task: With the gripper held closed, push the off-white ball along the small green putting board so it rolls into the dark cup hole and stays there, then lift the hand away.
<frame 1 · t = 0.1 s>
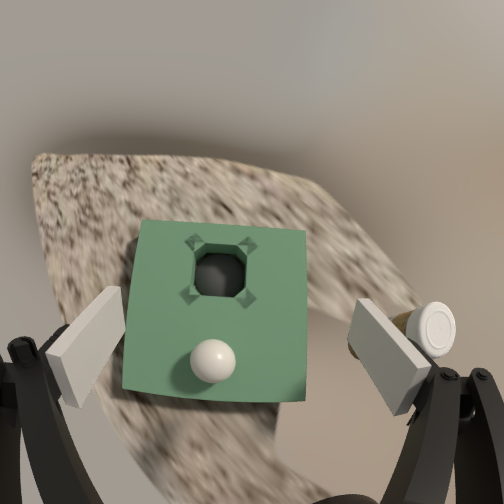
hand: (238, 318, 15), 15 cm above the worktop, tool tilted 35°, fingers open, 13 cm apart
ball: (212, 361, 23), point 5 cm above the worktop, touching putting board
sprinkles bottle: (363, 341, 30), on the worktop
putting board: (217, 313, 29), on the worktop
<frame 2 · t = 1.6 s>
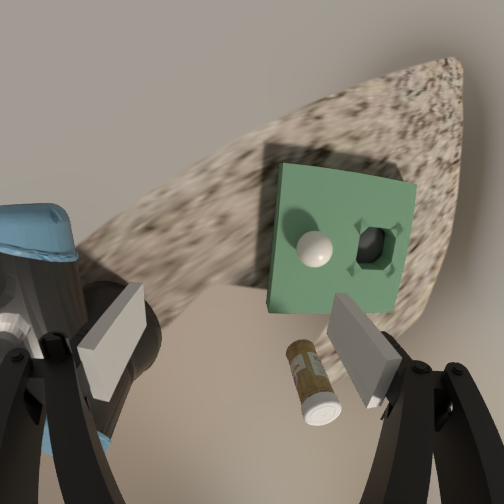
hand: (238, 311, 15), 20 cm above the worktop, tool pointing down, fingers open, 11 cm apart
ball: (314, 249, 30), point 5 cm above the worktop, touching putting board
sprinkles bottle: (300, 349, 40), on the worktop
putting board: (340, 241, 35), on the worktop
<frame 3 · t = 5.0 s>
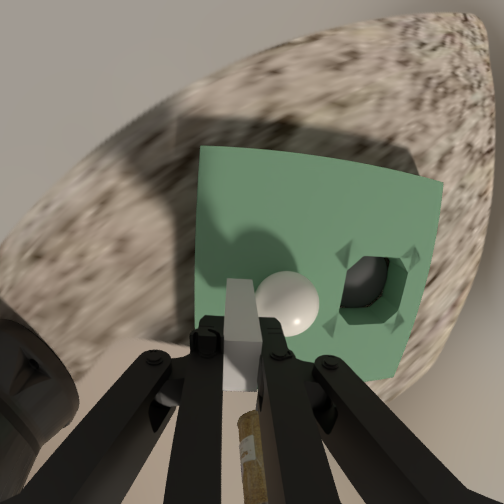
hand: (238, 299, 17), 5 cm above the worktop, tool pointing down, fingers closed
ball: (286, 303, 17), point 5 cm above the worktop, tilted 46°, touching putting board
sprinkles bottle: (258, 419, 26), on the worktop
putting board: (314, 276, 22), on the worktop
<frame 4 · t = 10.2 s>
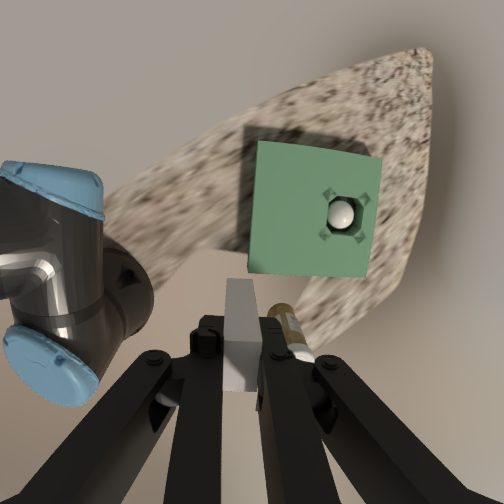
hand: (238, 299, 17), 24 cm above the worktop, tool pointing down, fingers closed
ball: (340, 214, 38), point 2 cm above the worktop, tilted 99°, touching putting board
sprinkles bottle: (280, 314, 45), on the worktop
putting board: (313, 210, 40), on the worktop
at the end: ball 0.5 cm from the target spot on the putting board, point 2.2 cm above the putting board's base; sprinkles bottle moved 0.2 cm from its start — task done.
